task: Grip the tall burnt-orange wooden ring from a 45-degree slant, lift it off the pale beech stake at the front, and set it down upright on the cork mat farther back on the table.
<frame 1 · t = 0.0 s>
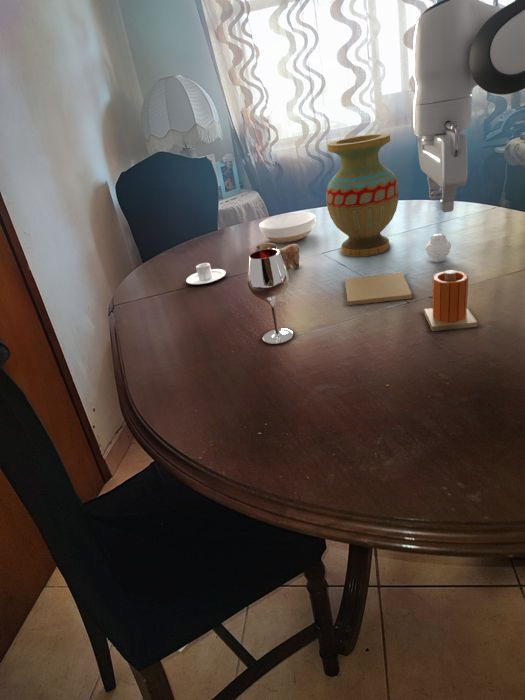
hand: (440, 204, 83), 22 cm above the table, tool pointing down, fingers open, 8 cm apart
figurine: (282, 273, 131), on the table
stake: (449, 319, 90), on the table
candle holder: (206, 279, 137), on the table
bowl: (289, 238, 161), on the table
wineglass: (278, 337, 97), on the table
cork mat: (376, 289, 109), on the table
orange ring: (449, 315, 90), point 1 cm above the table, touching stake
vase: (365, 249, 137), on the table
muffin: (438, 260, 119), on the table
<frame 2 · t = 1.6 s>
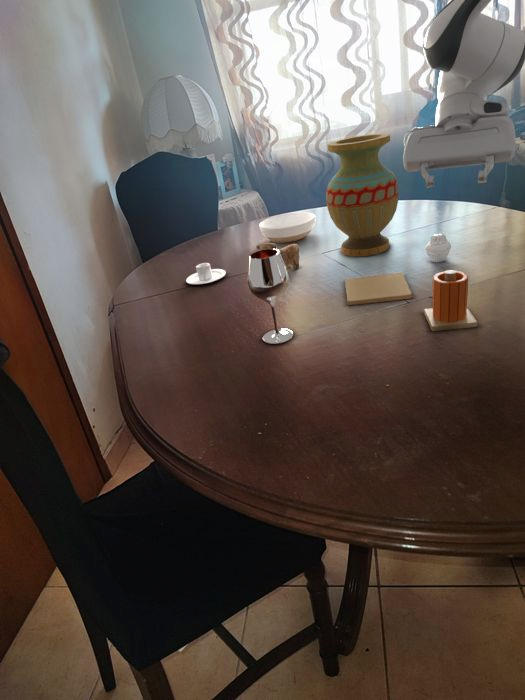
hand: (455, 183, 89), 23 cm above the table, tool tilted 45°, fingers open, 8 cm apart
nothing on the table moved.
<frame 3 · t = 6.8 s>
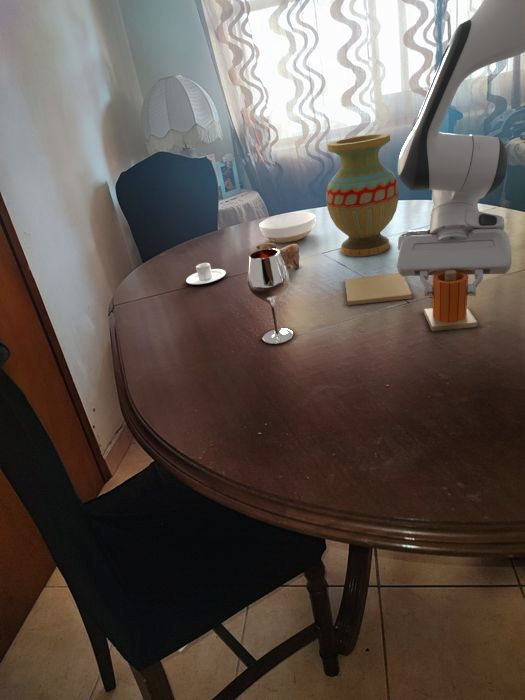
hand: (449, 294, 87), 6 cm above the table, tool tilted 45°, fingers closed on orange ring, 6 cm apart
orange ring: (449, 315, 90), point 1 cm above the table, touching gripper, stake
everything else where it was.
when the fingers open (5 cm above the table, at t = 18.0 s): orange ring stays where it is, resting on cork mat.
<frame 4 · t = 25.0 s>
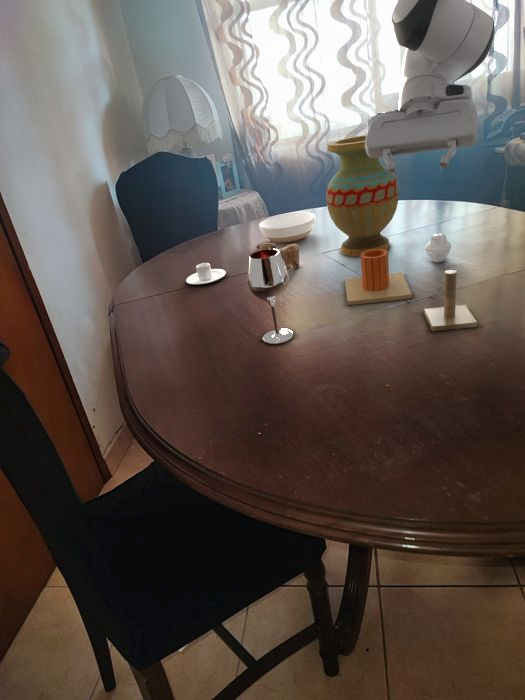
hand: (417, 169, 86), 27 cm above the table, tool tilted 45°, fingers open, 8 cm apart
orange ring: (375, 286, 109), point 1 cm above the table, touching cork mat
everything else where it was.
at the end: orange ring inside the target area on the cork mat (0.1 cm from its centre), point 1.0 cm above the cork mat's base; orange ring tilted 0°; the gripper is holding nothing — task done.
